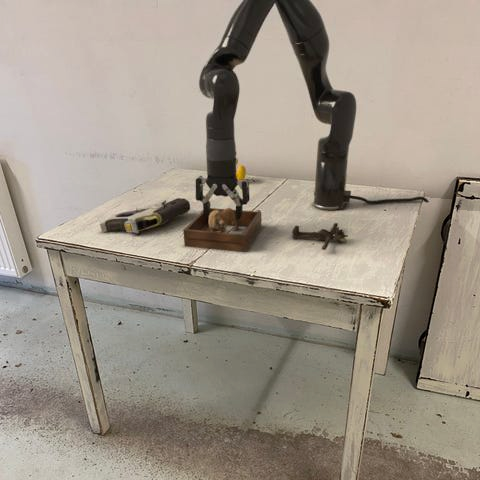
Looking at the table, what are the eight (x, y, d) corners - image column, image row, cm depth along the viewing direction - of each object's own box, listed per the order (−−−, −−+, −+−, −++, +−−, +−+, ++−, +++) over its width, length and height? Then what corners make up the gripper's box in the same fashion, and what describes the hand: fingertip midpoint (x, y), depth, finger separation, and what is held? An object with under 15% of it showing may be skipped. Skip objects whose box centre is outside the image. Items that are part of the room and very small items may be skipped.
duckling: (214, 181, 177) (213, 153, 172) (222, 178, 181) (221, 150, 176) (241, 186, 172) (240, 157, 167) (248, 182, 176) (248, 154, 171)
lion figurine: (224, 246, 128) (223, 214, 123) (205, 244, 129) (203, 212, 124) (241, 226, 140) (240, 196, 135) (223, 224, 141) (222, 194, 136)
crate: (261, 226, 139) (261, 211, 137) (245, 252, 125) (245, 235, 122) (206, 222, 143) (205, 207, 141) (184, 246, 129) (183, 230, 126)
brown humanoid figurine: (301, 215, 138) (353, 215, 133) (302, 229, 140) (352, 230, 135) (284, 238, 124) (342, 240, 119) (285, 254, 126) (342, 256, 121)
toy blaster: (94, 217, 137) (129, 222, 128) (157, 192, 153) (192, 195, 144) (100, 236, 139) (134, 242, 131) (161, 209, 155) (195, 213, 147)
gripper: (189, 157, 121) (193, 219, 129) (244, 161, 117) (244, 224, 126) (199, 151, 127) (202, 210, 136) (252, 153, 124) (252, 214, 132)
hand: (223, 217), depth 131 cm, fingers open, 8 cm apart
